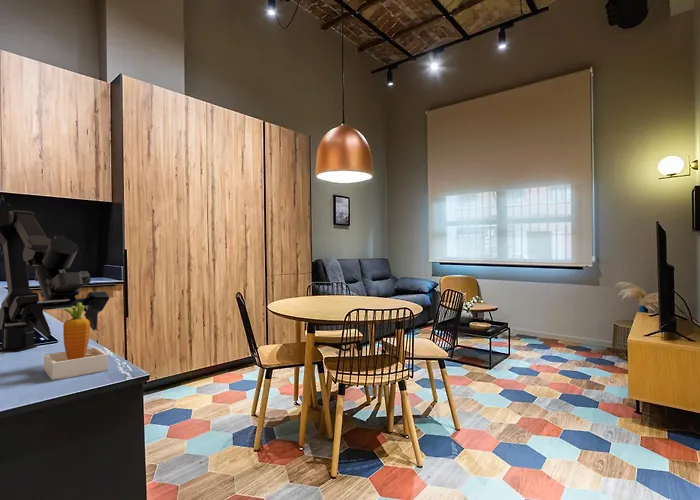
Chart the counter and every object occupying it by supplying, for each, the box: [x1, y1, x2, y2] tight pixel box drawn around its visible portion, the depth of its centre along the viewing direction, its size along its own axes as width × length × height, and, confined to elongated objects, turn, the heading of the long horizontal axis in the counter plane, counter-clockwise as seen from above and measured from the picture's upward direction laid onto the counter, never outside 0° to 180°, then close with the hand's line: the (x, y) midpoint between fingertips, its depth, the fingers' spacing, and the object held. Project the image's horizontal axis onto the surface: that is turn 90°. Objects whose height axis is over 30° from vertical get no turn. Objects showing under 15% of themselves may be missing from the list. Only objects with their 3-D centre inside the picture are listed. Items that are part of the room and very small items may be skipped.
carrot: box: [62, 302, 91, 360], centre depth 87 cm, size 5×5×15 cm
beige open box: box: [43, 346, 110, 381], centre depth 86 cm, size 10×10×4 cm
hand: (73, 332), depth 87 cm, fingers open, 9 cm apart
